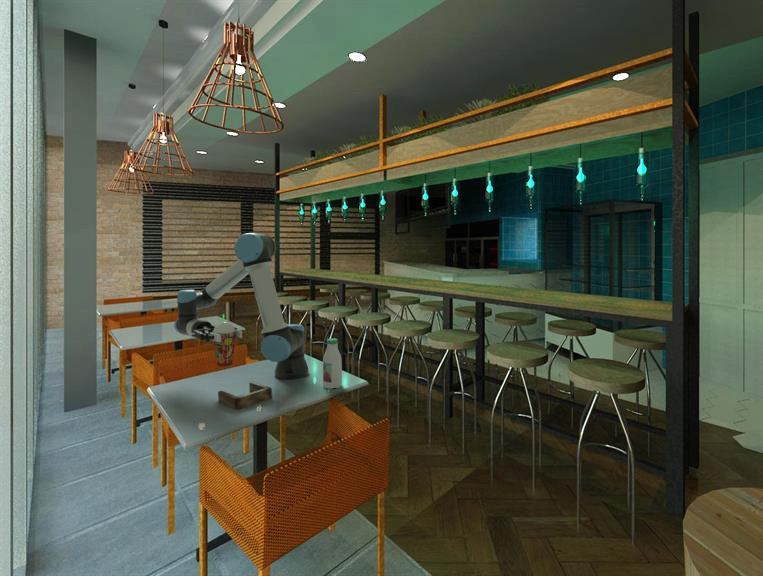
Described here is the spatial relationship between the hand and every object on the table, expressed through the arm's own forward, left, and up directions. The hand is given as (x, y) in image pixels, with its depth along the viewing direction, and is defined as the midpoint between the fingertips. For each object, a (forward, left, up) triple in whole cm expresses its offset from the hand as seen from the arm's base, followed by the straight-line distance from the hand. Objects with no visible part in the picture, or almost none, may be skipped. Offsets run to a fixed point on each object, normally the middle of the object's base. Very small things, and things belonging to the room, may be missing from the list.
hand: (230, 336), depth 158 cm
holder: (-1, +7, -23) cm, 24 cm away
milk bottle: (-34, +20, -23) cm, 46 cm away
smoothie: (0, -5, -12) cm, 13 cm away
